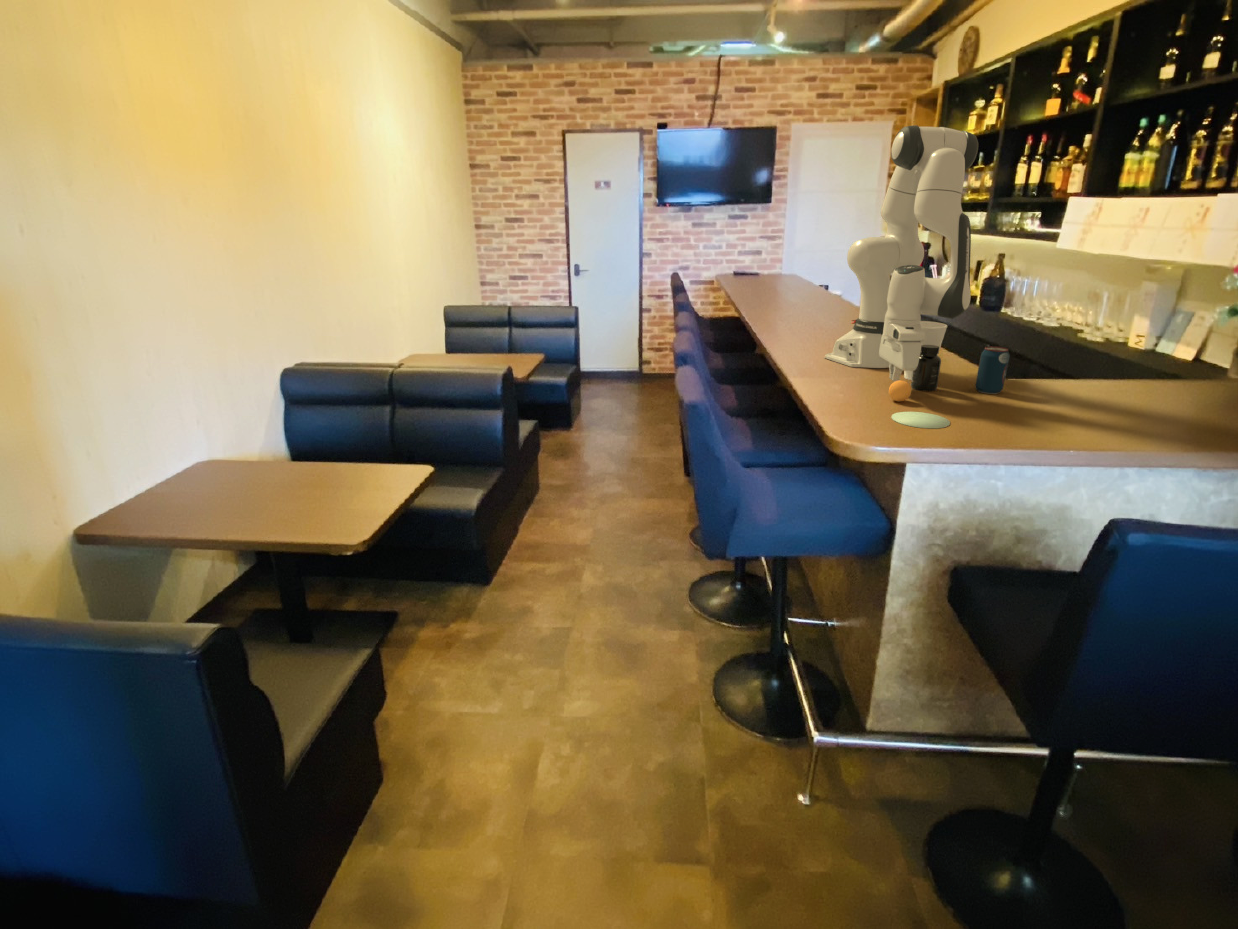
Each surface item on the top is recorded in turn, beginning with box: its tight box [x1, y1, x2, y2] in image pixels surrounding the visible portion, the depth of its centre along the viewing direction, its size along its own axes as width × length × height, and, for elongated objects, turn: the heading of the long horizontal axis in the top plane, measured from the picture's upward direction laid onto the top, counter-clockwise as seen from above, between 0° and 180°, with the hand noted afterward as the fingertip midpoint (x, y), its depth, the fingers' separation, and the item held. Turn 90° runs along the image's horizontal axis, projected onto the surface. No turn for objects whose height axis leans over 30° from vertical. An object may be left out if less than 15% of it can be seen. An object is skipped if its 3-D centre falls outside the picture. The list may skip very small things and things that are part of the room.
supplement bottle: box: [910, 345, 942, 392], centre depth 192 cm, size 7×7×12 cm
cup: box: [903, 320, 948, 381], centre depth 203 cm, size 12×12×16 cm
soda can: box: [974, 345, 1011, 395], centre depth 190 cm, size 7×7×12 cm
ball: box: [888, 379, 912, 402], centre depth 181 cm, size 6×6×6 cm
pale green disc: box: [890, 411, 951, 429], centre depth 166 cm, size 13×13×1 cm
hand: (894, 380), depth 189 cm, fingers closed
